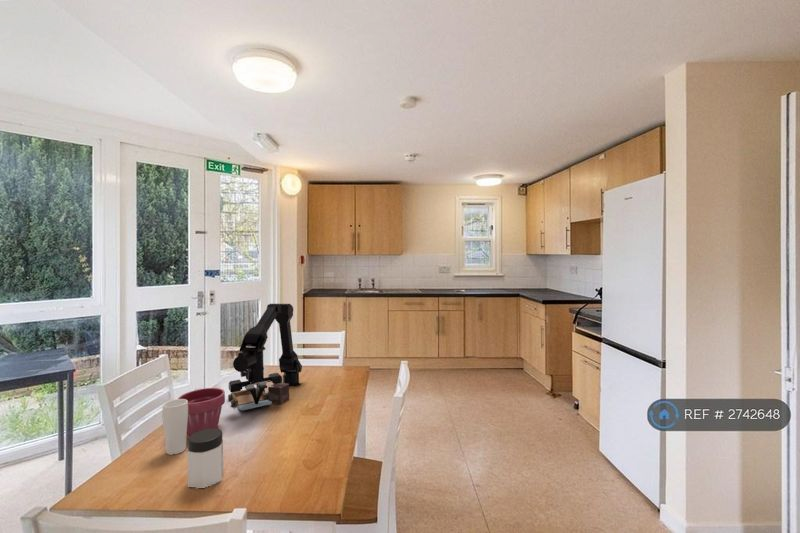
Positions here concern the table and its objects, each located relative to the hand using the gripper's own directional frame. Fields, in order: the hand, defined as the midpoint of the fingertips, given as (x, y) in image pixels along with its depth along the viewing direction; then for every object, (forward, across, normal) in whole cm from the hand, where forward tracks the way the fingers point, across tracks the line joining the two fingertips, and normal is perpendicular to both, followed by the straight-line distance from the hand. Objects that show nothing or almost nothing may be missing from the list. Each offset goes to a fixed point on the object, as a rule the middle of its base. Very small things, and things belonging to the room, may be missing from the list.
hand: (256, 404), depth 141 cm
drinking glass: (+3, +27, +17) cm, 32 cm away
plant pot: (+3, +19, +7) cm, 21 cm away
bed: (+3, 0, -14) cm, 14 cm away
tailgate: (+2, 0, -3) cm, 3 cm away
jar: (+3, +21, +39) cm, 44 cm away
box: (+3, -10, -4) cm, 11 cm away
